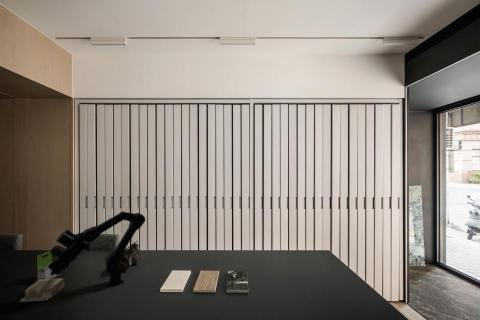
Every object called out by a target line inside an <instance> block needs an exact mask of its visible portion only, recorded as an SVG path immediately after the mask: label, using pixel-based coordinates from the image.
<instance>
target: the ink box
mask: <svg viewBox="0 0 480 320" xmlns="http://www.w3.org/2000/svg"><path fill="white" fill-rule="evenodd" d="M50 251H51V250H48V251H46V252H44V253H41V254H38V255H37V259H36V260H37V261H36V263H37V264H36V266H37V267H36V269H37V270H36V273H37V274H36V277H37V281H38V280H41V279H55V278H56V277H58V276H60V275H61V273H60V274H59V275H56V274H54V275H50V273H51V272H52V270H51V269H50V268H48V266H49V265H50V264H51V263H52V262H53V255H51V254H50V253H51V252H50ZM45 255H47V256H45ZM44 256H45V257H44ZM37 281H36V282H37Z"/></svg>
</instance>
